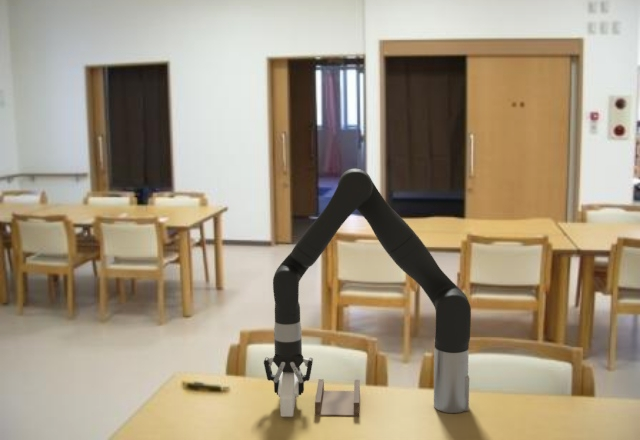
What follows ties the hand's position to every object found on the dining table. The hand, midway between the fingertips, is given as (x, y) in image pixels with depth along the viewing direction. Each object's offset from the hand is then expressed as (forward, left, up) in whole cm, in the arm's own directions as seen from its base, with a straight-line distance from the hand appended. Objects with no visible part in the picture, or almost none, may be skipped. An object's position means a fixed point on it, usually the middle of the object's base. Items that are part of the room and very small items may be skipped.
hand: (289, 393), depth 203 cm
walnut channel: (-14, -1, -3) cm, 14 cm away
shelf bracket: (0, -2, -3) cm, 4 cm away
